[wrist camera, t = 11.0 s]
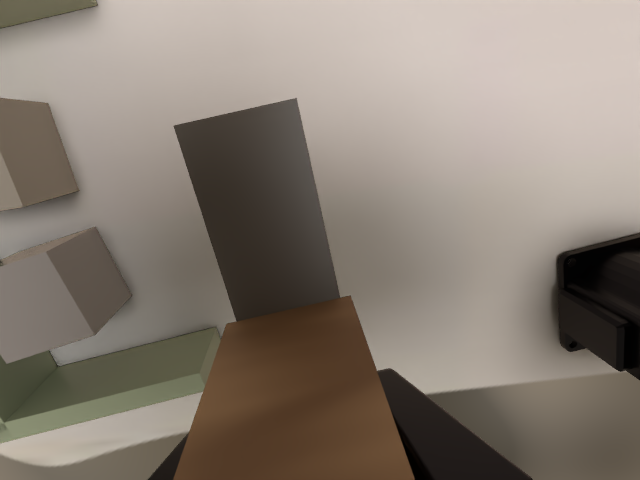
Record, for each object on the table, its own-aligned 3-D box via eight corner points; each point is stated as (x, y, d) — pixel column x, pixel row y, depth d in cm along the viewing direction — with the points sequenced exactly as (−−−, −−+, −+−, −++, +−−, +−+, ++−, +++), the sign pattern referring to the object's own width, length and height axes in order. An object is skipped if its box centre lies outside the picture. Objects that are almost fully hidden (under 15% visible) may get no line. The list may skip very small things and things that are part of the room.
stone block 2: (96, 226, 18) (45, 251, 14) (132, 294, 19) (94, 335, 16) (20, 250, 18) (-50, 282, 14) (61, 317, 19) (6, 363, 16)
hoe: (304, 105, 10) (371, -42, 1) (375, 436, 14) (515, 957, 5) (199, 129, 10) (-363, 122, 1) (297, 454, 14) (306, 1008, 5)
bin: (87, -22, 15) (20, -74, 11) (221, 342, 20) (206, 390, 17) (-151, 34, 15) (-302, 0, 11) (47, 386, 20) (-8, 445, 16)
